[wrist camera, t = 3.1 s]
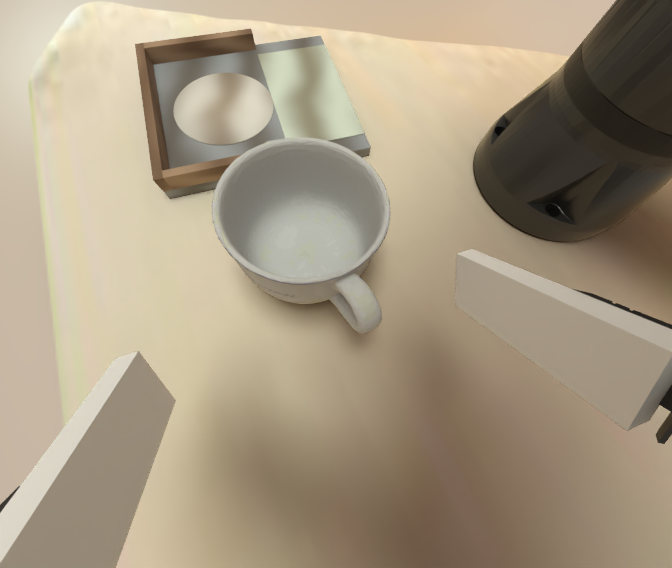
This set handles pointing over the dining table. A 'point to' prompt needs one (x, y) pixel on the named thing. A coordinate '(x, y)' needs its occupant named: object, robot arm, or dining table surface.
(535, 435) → the dining table surface
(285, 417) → the dining table surface
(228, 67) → the board
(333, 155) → the teacup
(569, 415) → the dining table surface
